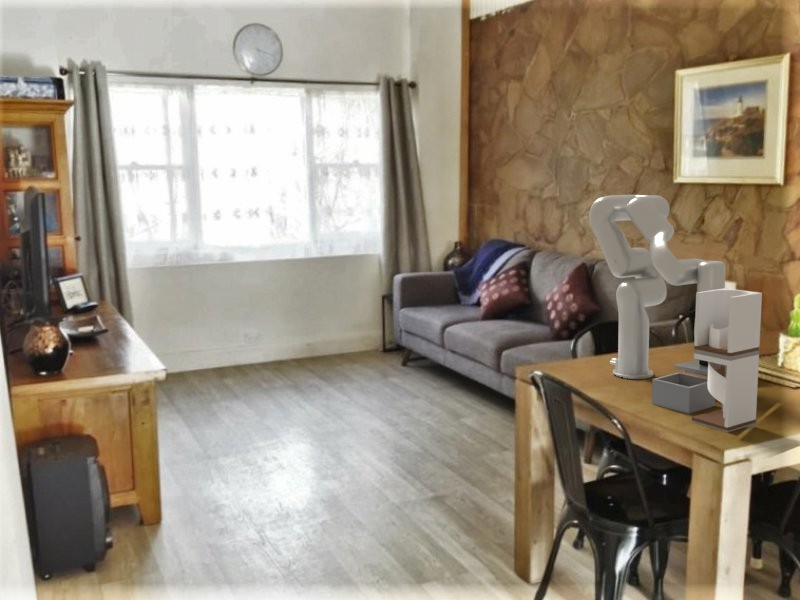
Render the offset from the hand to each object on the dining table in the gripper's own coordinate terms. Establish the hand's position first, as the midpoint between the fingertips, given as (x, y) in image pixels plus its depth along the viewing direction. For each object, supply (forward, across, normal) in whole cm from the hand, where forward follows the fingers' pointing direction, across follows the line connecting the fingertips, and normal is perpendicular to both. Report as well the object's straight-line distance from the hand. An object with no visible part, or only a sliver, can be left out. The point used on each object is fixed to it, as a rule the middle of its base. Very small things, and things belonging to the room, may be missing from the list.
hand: (708, 363), depth 226 cm
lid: (+2, 0, 0) cm, 2 cm away
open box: (+9, -17, -4) cm, 20 cm away
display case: (+10, -22, -20) cm, 31 cm away
